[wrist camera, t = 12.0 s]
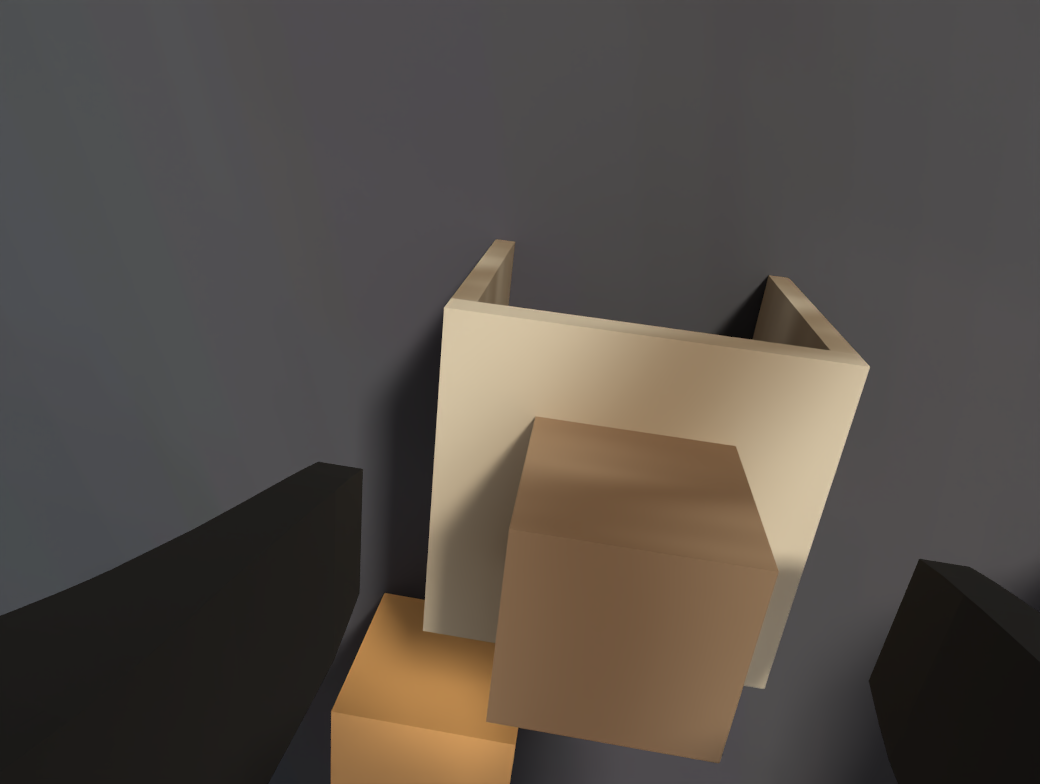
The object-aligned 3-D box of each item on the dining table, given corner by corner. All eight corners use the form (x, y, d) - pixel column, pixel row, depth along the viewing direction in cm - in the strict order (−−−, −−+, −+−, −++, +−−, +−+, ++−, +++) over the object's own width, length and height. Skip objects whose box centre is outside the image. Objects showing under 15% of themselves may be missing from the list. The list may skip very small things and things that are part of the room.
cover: (788, 278, 14) (969, 475, 7) (723, 525, 17) (807, 862, 10) (495, 239, 15) (383, 388, 8) (473, 486, 17) (370, 780, 10)
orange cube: (534, 616, 19) (515, 745, 15) (517, 730, 20) (496, 871, 17) (385, 590, 19) (331, 711, 15) (380, 705, 21) (330, 839, 17)
